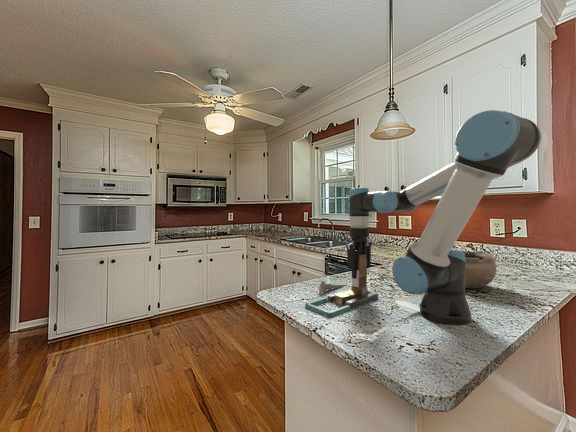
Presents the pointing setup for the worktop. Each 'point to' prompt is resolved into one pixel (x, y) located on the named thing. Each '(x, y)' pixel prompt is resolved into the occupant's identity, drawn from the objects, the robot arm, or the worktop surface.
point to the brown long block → (362, 276)
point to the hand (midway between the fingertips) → (359, 285)
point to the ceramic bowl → (479, 269)
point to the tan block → (341, 298)
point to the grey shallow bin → (357, 301)
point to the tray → (329, 314)
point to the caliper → (328, 287)
